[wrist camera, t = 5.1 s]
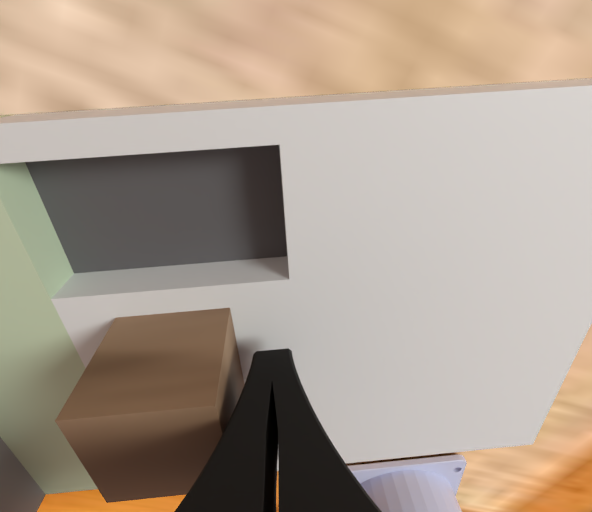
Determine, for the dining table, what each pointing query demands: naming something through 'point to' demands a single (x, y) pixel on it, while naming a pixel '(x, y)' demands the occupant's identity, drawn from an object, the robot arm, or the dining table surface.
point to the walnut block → (154, 402)
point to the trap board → (306, 257)
